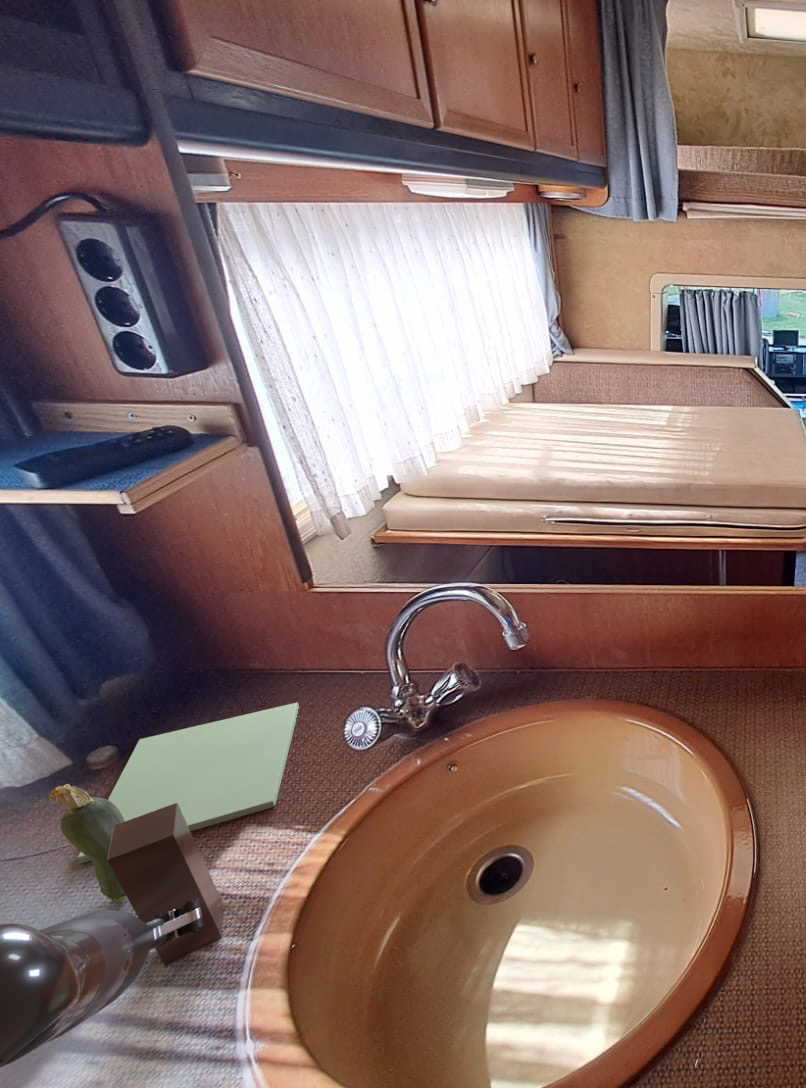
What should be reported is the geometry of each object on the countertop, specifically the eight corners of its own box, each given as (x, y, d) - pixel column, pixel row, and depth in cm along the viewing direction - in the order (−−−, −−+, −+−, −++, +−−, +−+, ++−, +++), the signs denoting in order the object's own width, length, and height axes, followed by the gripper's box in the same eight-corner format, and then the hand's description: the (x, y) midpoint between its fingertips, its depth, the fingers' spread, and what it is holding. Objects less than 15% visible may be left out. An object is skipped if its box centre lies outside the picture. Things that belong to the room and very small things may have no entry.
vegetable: (148, 871, 80) (91, 758, 72) (161, 890, 78) (104, 776, 70) (100, 900, 76) (34, 784, 68) (112, 920, 74) (46, 803, 67)
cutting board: (80, 863, 80) (77, 857, 80) (142, 744, 98) (139, 739, 97) (275, 806, 90) (273, 800, 89) (299, 707, 107) (297, 702, 107)
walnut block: (164, 965, 71) (106, 860, 64) (168, 928, 74) (114, 825, 67) (222, 938, 74) (173, 834, 67) (223, 903, 77) (177, 802, 70)
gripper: (173, 875, 51) (222, 861, 64) (-88, 984, 43) (29, 941, 56) (189, 971, 49) (235, 936, 63) (-79, 1102, 41) (39, 1030, 55)
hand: (138, 939), depth 60 cm, fingers closed
